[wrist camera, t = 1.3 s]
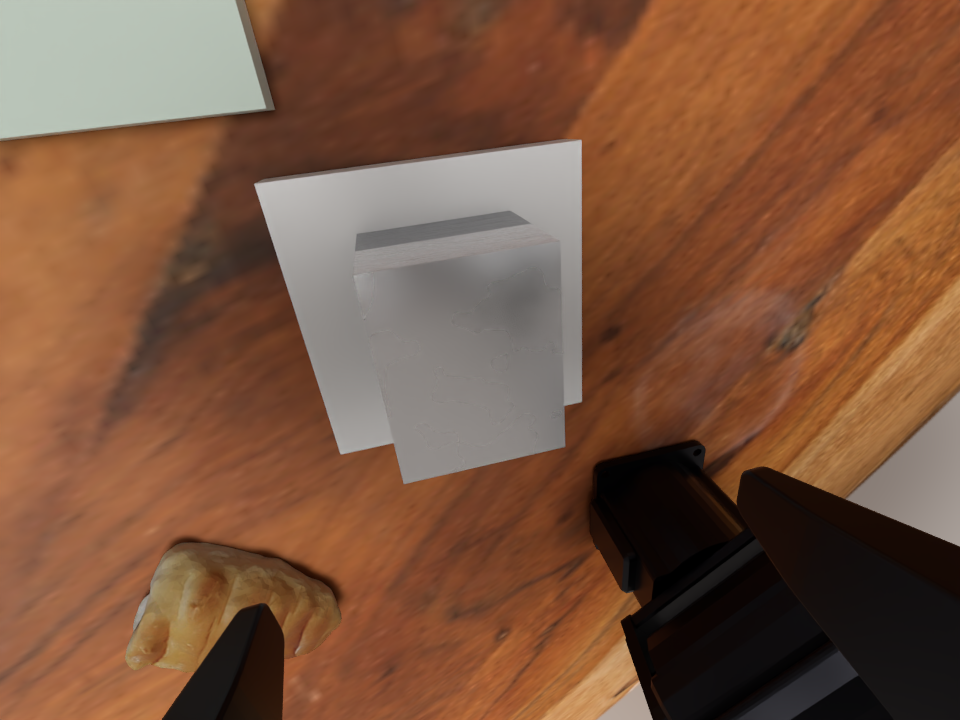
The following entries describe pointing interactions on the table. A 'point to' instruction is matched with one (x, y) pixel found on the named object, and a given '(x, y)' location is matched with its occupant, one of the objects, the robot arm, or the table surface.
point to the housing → (465, 339)
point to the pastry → (224, 605)
